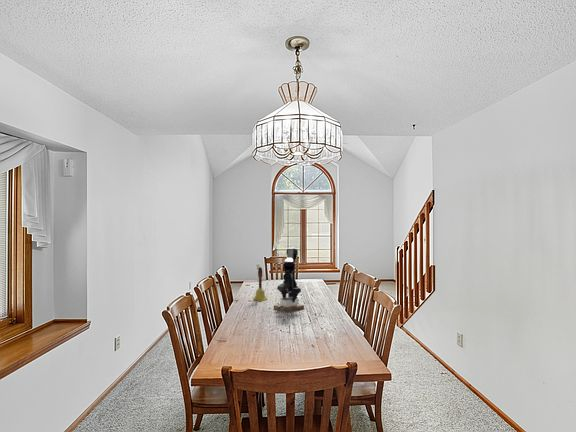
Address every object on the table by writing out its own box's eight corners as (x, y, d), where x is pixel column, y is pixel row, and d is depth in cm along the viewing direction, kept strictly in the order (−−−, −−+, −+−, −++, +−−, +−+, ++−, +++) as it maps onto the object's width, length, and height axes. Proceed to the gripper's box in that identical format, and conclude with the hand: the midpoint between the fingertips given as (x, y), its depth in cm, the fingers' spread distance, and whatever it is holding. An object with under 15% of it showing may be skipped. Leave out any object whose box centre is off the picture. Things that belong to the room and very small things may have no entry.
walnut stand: (273, 308, 274) (273, 305, 274) (290, 305, 285) (290, 302, 285) (287, 312, 264) (287, 308, 264) (304, 308, 274) (304, 305, 274)
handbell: (253, 301, 299) (253, 268, 299) (251, 298, 311) (251, 266, 311) (269, 300, 302) (269, 268, 302) (266, 297, 314) (266, 266, 314)
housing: (292, 303, 279) (292, 296, 280) (297, 305, 275) (297, 298, 275) (280, 305, 274) (280, 298, 274) (285, 307, 269) (285, 299, 269)
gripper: (271, 278, 276) (271, 300, 276) (289, 281, 262) (289, 305, 262) (283, 277, 283) (283, 298, 283) (301, 280, 269) (301, 302, 269)
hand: (288, 301), depth 274 cm, fingers open, 9 cm apart
